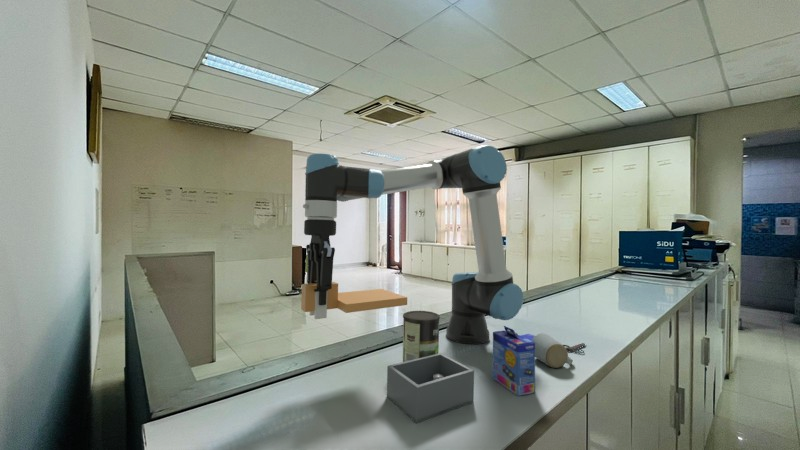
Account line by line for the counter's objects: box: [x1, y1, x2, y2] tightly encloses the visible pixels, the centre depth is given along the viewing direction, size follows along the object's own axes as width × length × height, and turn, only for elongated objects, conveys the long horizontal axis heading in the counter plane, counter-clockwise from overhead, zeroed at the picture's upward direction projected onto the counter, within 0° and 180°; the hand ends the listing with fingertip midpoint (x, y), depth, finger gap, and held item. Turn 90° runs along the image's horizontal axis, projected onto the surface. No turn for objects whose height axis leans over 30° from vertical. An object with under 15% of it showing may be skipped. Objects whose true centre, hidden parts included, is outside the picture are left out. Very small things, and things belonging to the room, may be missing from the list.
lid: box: [300, 281, 408, 314], centre depth 83 cm, size 25×13×6 cm, turn 123°
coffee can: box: [402, 310, 441, 362], centre depth 91 cm, size 10×10×14 cm
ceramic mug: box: [532, 332, 574, 369], centre depth 95 cm, size 11×8×8 cm
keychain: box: [562, 342, 586, 354], centre depth 106 cm, size 8×18×2 cm, turn 124°
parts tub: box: [386, 352, 475, 424], centre depth 73 cm, size 16×12×7 cm
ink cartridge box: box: [492, 325, 536, 397], centre depth 81 cm, size 10×6×14 cm, turn 21°
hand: (317, 316), depth 78 cm, fingers closed on lid, 3 cm apart
